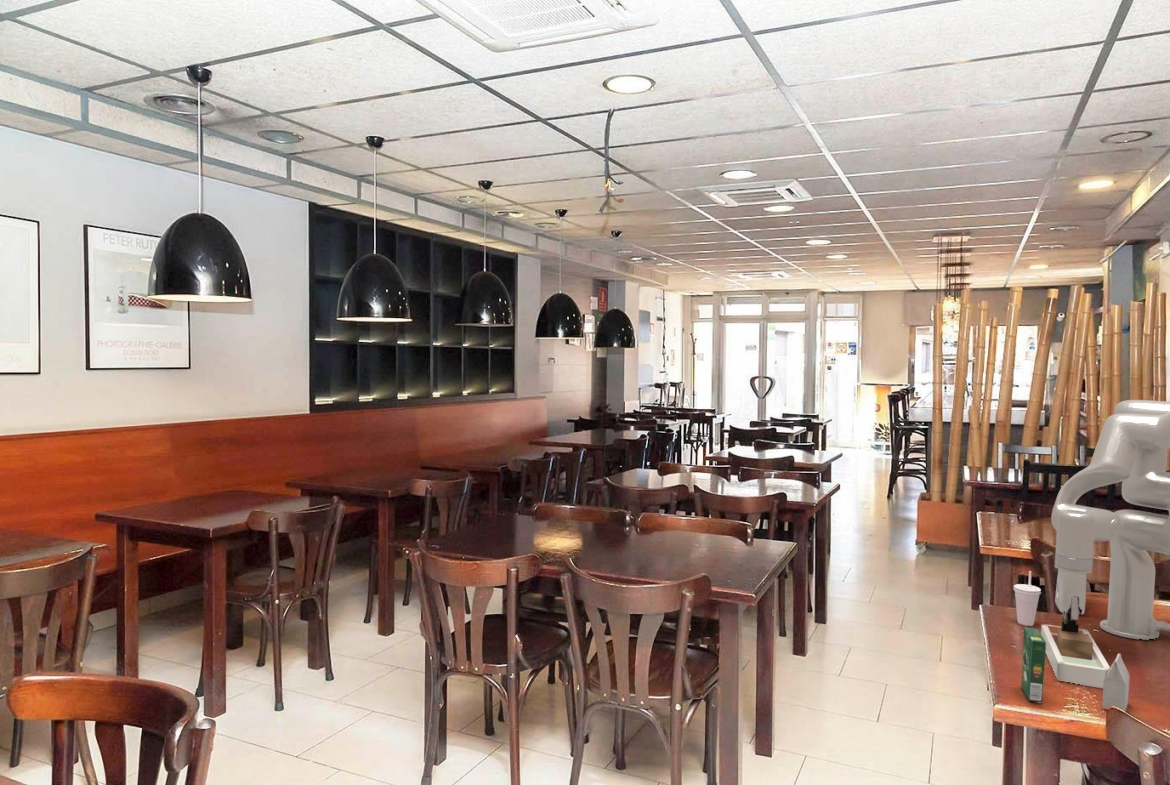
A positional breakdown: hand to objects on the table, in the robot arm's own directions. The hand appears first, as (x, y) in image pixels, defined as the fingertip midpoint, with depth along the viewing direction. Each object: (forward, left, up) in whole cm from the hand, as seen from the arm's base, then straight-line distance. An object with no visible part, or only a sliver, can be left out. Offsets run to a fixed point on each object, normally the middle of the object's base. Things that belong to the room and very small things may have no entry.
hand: (1069, 639), depth 187 cm
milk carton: (-4, +29, -4) cm, 29 cm away
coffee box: (+11, +31, -4) cm, 33 cm away
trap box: (0, +6, -4) cm, 7 cm away
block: (0, +7, -1) cm, 7 cm away
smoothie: (+7, -20, -4) cm, 22 cm away
